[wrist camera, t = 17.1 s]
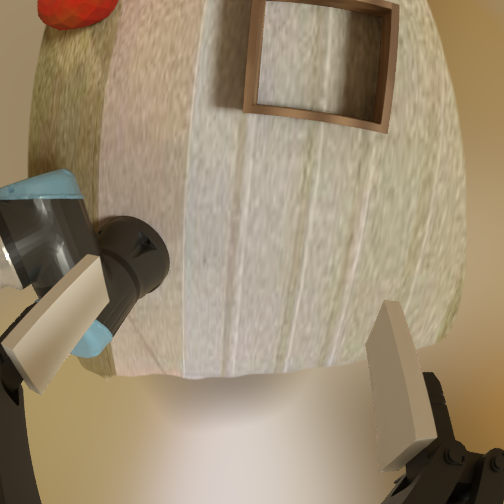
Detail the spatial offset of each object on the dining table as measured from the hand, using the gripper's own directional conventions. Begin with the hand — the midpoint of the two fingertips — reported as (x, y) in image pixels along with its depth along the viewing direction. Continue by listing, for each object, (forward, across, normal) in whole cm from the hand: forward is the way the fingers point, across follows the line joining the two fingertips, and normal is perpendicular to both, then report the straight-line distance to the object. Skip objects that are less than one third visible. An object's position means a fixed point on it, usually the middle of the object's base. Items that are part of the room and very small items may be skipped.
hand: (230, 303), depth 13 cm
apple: (+33, -30, +26) cm, 52 cm away
